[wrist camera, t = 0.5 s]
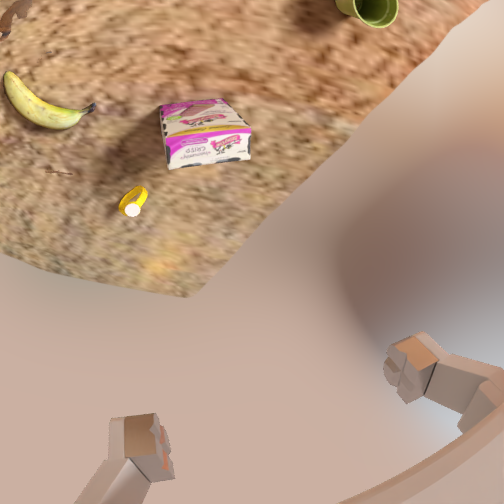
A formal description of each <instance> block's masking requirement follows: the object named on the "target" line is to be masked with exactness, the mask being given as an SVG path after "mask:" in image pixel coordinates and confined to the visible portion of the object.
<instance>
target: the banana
mask: <svg viewBox="0 0 504 504" xmlns="http://www.w3.org/2000/svg"><path fill="white" fill-rule="evenodd" d="M31 6H32V0H19V1H16V2H14V3H13V4H12V6H11V7H10V8H9V9H8V10H7V11H6V12H5V13H4V14H3V16H2V18H1V20H0V32H2V33H3V34H2V36H1V38H0V41H4V40H5V39H6V38H8V36H9V34H10V32H11V23H12V17H13V15H14V14H15V13H16V14H17V17H18V18H19V19H20V18H26V17H27V12H26V11H27V10H28V9H29V8H30V7H31ZM47 53H52V52H51V51H49V52H47ZM41 57H42V56H41ZM41 59H42V58H41ZM41 59H40V60H41ZM3 81H4V83H3V84H4V85H3V87H4V91H5V94H6V96H7V98H8V100H9V101H10V103H11V104H12V106H13V107H14V108H15V110H16V111H17V112H18V113H19V114H20V115H21V116H23V117H24V118H25V119H27V120H29V121H30V122H32V123H34V124H36V125H39V126H42V127H45V128H49V129H56V130H61V129H67V128H70V127H72V126H74V125H76V123H77V122H79V120H80V119H81V117H82V116H83V115H85V114H87V113H89V112H93V111H94V110H95V106H96V103H92V105H90V106H88V107H86V108H84V109H82V110H71V109H66V108H60V107H56V106H53V105H50V104H48V103H46V102H44V101H42V100H41V99H39V98H38V97H37V96H35V95H34V94H33V93H32V92H31V91H30V90H29V89H28V88H27V87H26V86H25V85H24V84H23V82H22V81H21V80H20V79H19V77H18V76H16V75H15V74H14V73H13V72H10V71H6V72H5V74H4V76H3ZM47 169H48V168H47ZM58 171H59V170H58ZM58 171H53V172H52V171H51V170H50V169H48V171H45V172H46V173H56V172H57V173H62V172H58ZM64 174H69V175H73V174H72V173H64Z"/></svg>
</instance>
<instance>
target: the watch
mask: <svg viewBox="0 0 504 504" xmlns="http://www.w3.org/2000/svg"><path fill="white" fill-rule="evenodd" d="M139 192H141V194H140V196H139V198H138V199H137V200H136V201H135V202H129V201H130V199H132V198H133V197H134V196H136V195H137V194H138V193H139ZM146 198H147V191H146V190H145V189H144V187H142V186H136V187H135V188H134V189H132V190H131V191H130V192H128V193H127V194H125V196H124V197H123V198H122V200H121V201H120V204H119V211H120V212H121V213H122V214H123V215H125V216H131V217H134V216H137V215H138V214H139V213H140V207H141V206H142V205H143V203H144V202H145V200H146ZM128 202H129V203H128Z"/></svg>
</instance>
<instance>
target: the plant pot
mask: <svg viewBox="0 0 504 504" xmlns="http://www.w3.org/2000/svg"><path fill="white" fill-rule="evenodd" d="M335 2H336V6H337V8H338V9H339V10H340V11H341V12H342V13H344V14H347V15H350V16H353V17H355V18H358V19H360V20H361V21H362V22H363V23H365V24H366V25H368V26H371V27H374V28H384V27H387V26H389V25H390V24H391V23H392V22H393V21H394V20H395V18H396V16H397V13H398V0H335ZM359 4H360V6H359V8H358V9H356V8H357V7H358V5H359Z"/></svg>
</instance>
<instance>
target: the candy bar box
mask: <svg viewBox="0 0 504 504" xmlns="http://www.w3.org/2000/svg"><path fill="white" fill-rule="evenodd" d="M160 123H161V133H162V138H163V144H164V150H165V156H166V162H167V168H168V170H171V169H178V168H184V167H191V166H199V165H207V164H214V163H223V162H231V161H240V160H249V159H250V137H251V127H250V126H249V125H248V124H247V123H246V122H245V121H244V120H243V118H242V117H241V116H240V115H239V114H238V113H237V112H236V111H235V110H234V109H233V108H232V107H231V106H230V105H229V104H228V103H227V102H226V101H225V100H224V99H223V98H221V99H210V100H201V101H191V102H183V103H175V104H168V105H160Z"/></svg>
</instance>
